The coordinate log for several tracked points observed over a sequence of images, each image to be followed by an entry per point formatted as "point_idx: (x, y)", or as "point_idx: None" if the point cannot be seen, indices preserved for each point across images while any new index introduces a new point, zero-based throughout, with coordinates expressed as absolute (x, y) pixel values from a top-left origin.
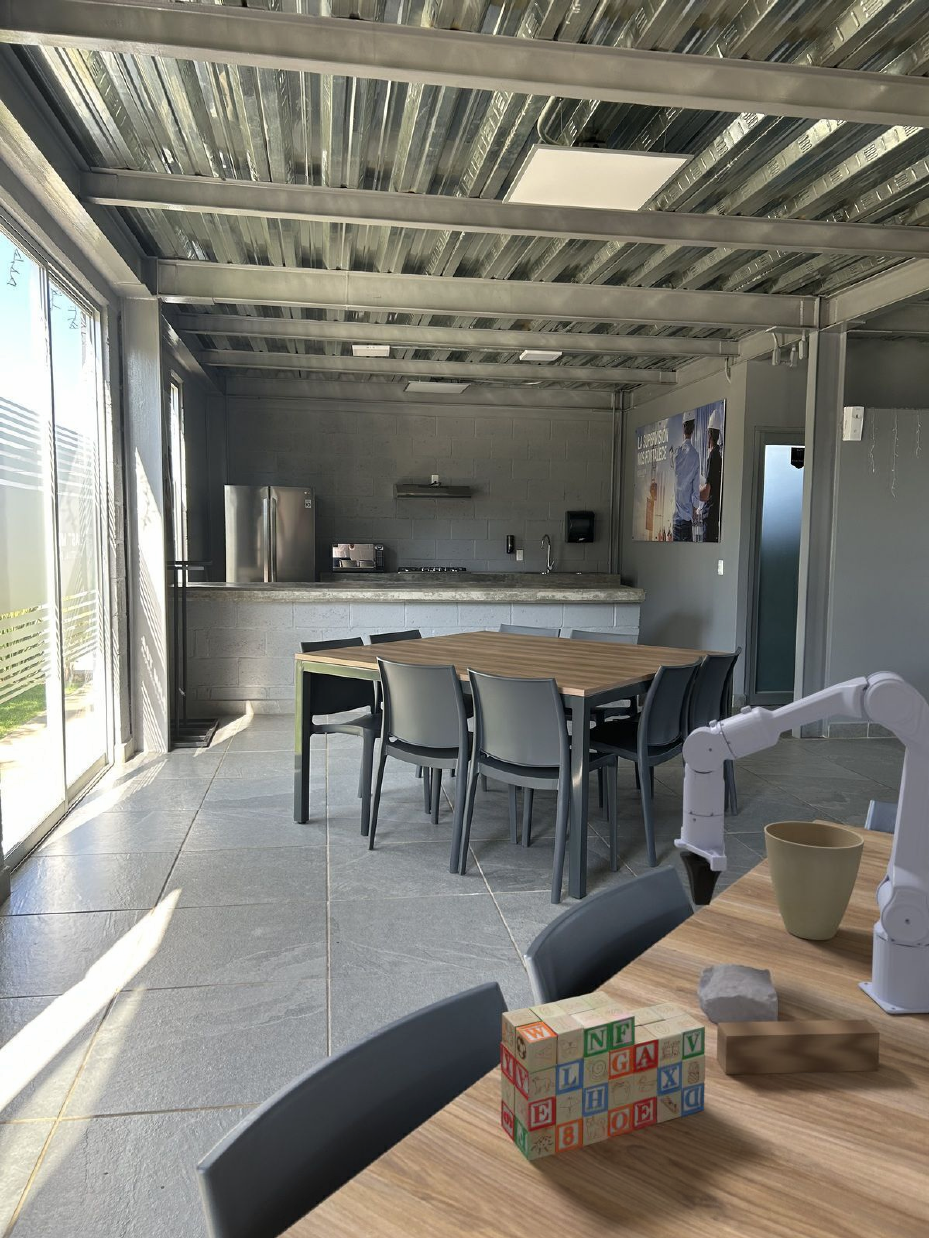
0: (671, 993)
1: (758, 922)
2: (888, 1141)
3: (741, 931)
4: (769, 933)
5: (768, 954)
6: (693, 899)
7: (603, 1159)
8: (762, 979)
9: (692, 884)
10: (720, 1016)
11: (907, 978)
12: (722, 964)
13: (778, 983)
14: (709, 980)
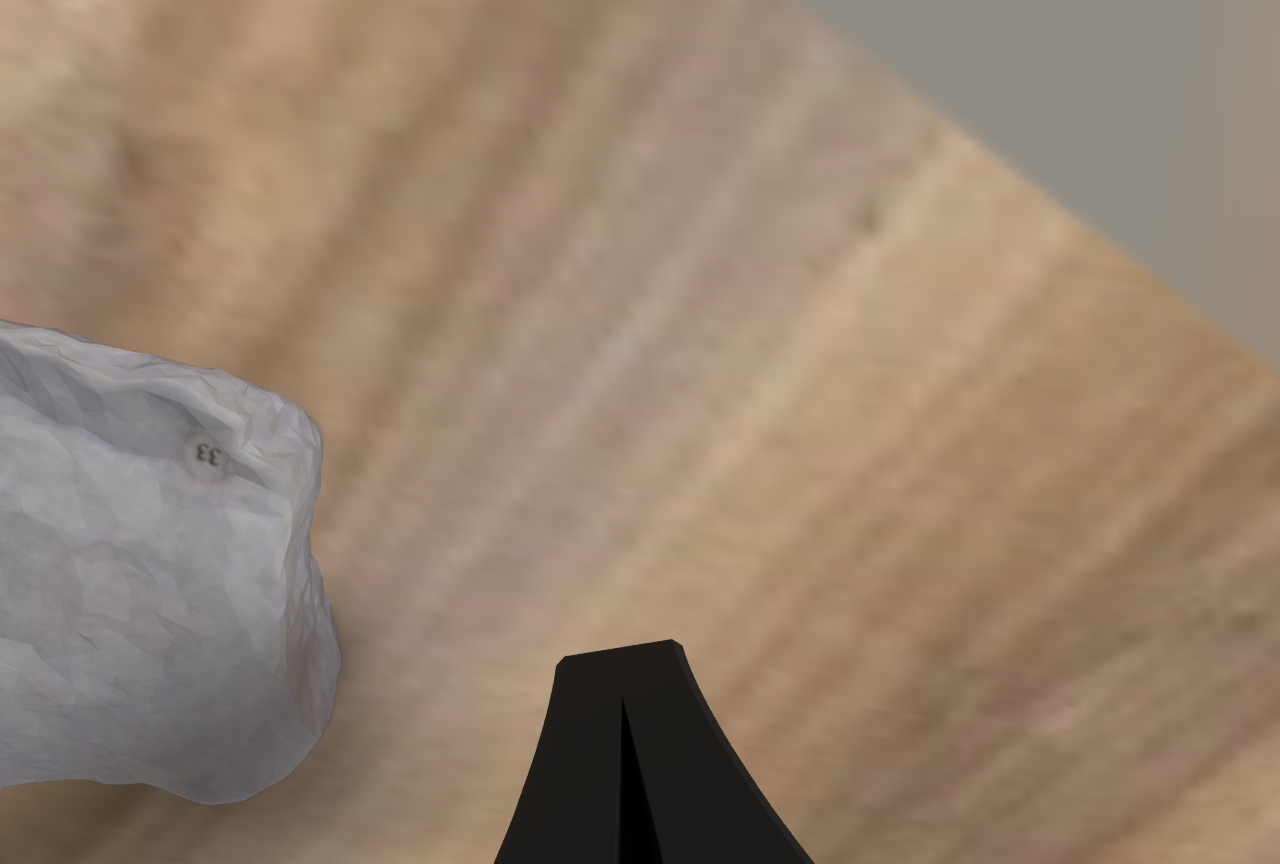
0: (44, 80)
1: (1236, 768)
2: None
3: (1130, 675)
4: (1078, 795)
5: (798, 756)
6: (614, 672)
7: None
8: (77, 750)
9: (561, 858)
10: None
11: None
12: (269, 551)
13: (414, 749)
14: (50, 414)
